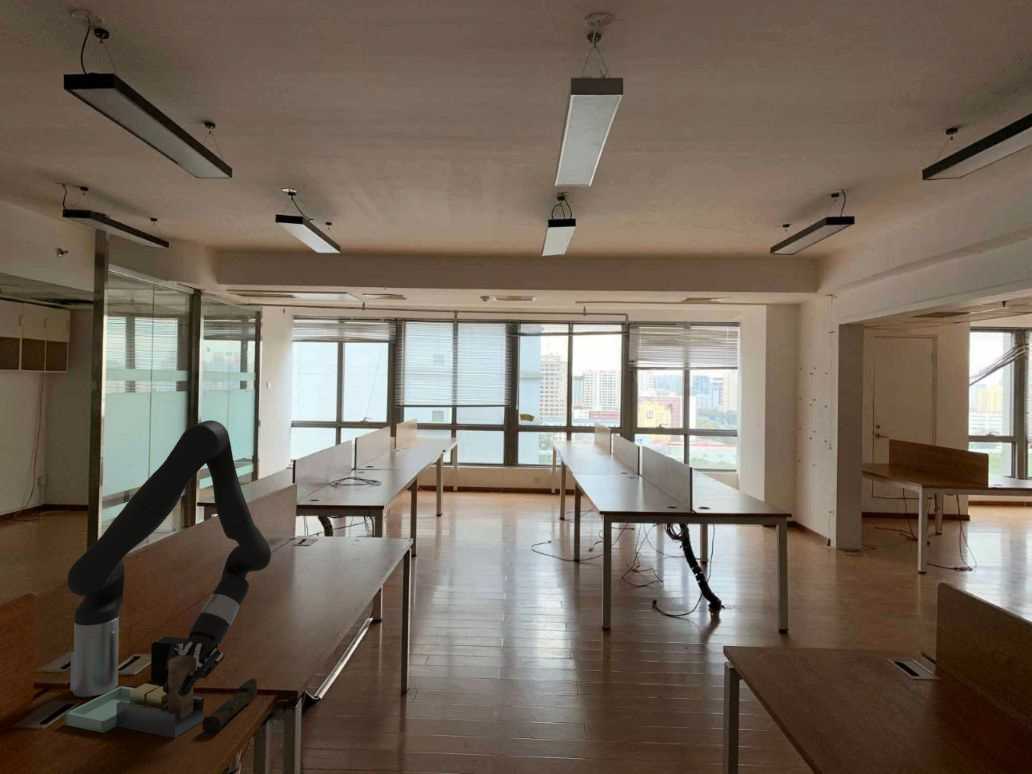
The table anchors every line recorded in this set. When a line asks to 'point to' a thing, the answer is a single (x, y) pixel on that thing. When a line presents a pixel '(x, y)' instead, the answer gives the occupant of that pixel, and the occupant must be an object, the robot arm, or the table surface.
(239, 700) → the hand tool
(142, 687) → the tan cube
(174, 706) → the tan wooden block
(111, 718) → the tray
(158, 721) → the slot rail
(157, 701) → the pale yellow cube
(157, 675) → the electronic device
